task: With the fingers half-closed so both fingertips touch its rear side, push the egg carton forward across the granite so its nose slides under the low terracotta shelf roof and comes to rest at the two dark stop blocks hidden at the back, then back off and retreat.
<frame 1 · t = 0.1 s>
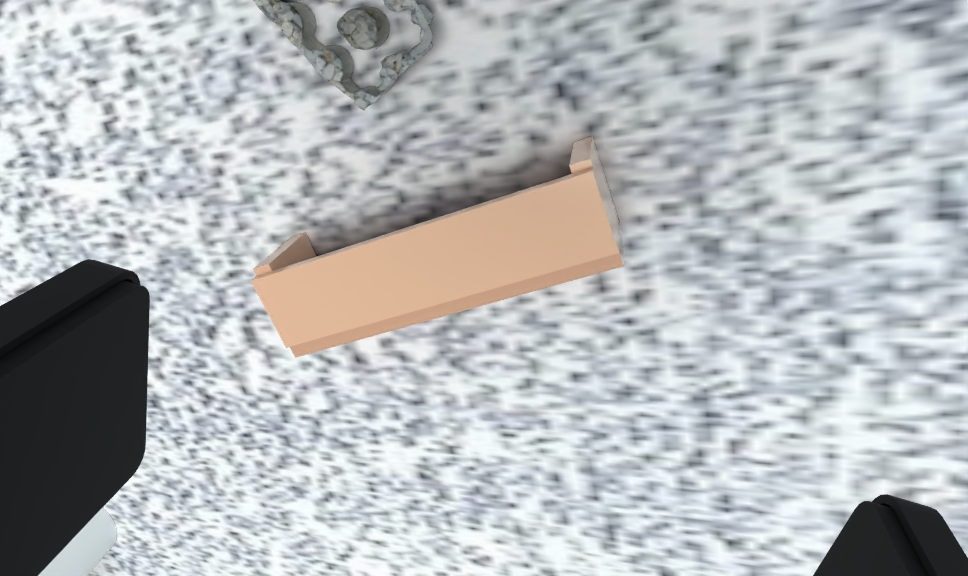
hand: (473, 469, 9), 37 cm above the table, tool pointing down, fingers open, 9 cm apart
egg carton: (356, 2, 43), on the table
cylindrical container: (83, 521, 66), on the table
shelf: (445, 223, 48), on the table
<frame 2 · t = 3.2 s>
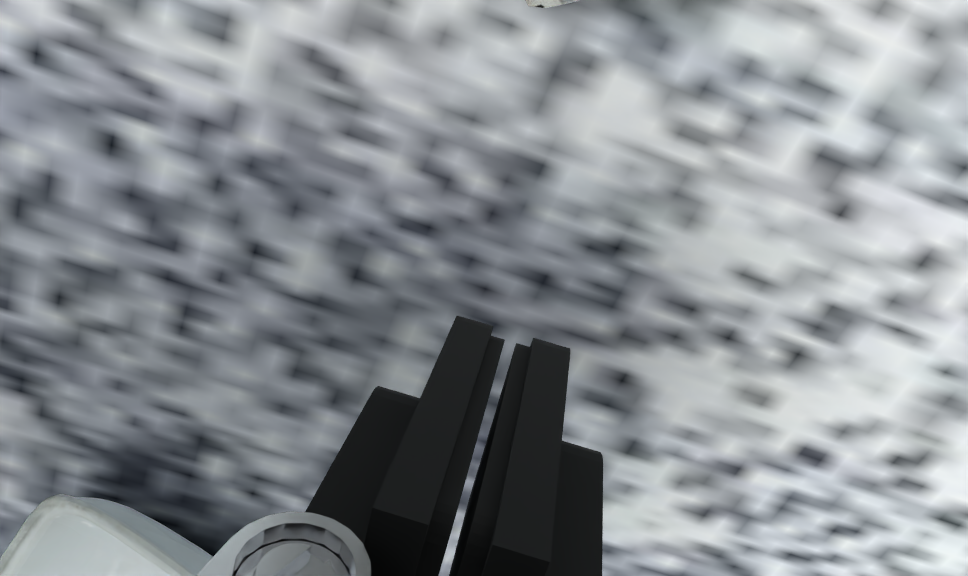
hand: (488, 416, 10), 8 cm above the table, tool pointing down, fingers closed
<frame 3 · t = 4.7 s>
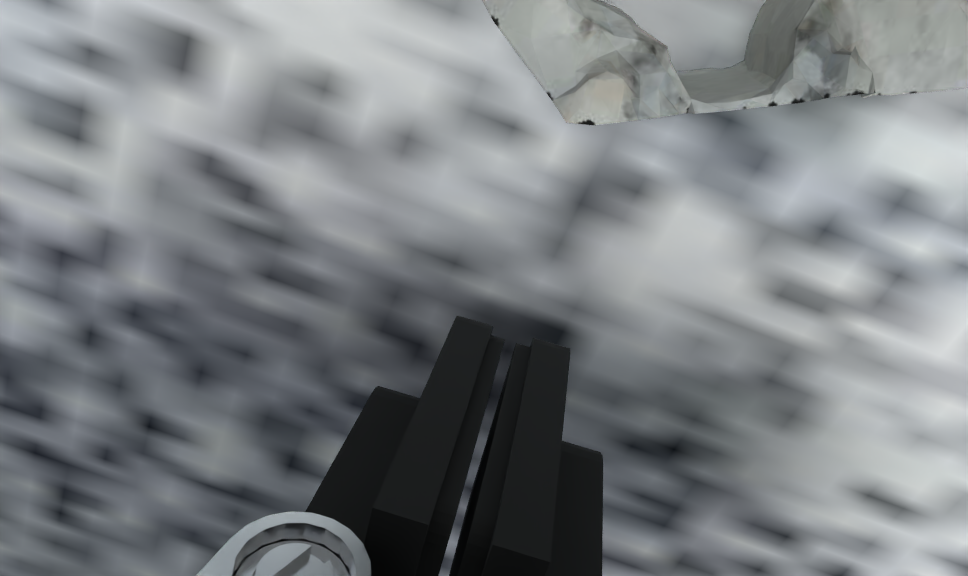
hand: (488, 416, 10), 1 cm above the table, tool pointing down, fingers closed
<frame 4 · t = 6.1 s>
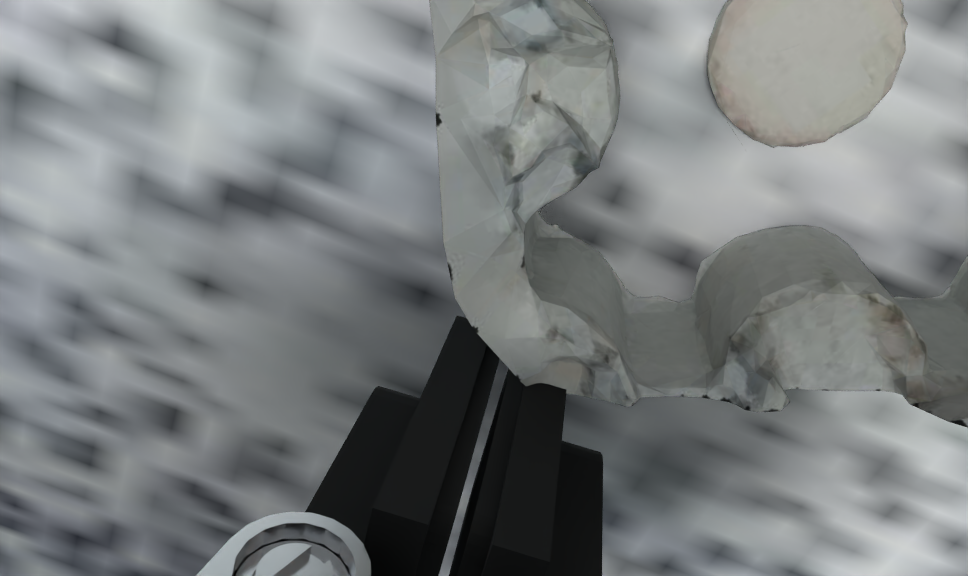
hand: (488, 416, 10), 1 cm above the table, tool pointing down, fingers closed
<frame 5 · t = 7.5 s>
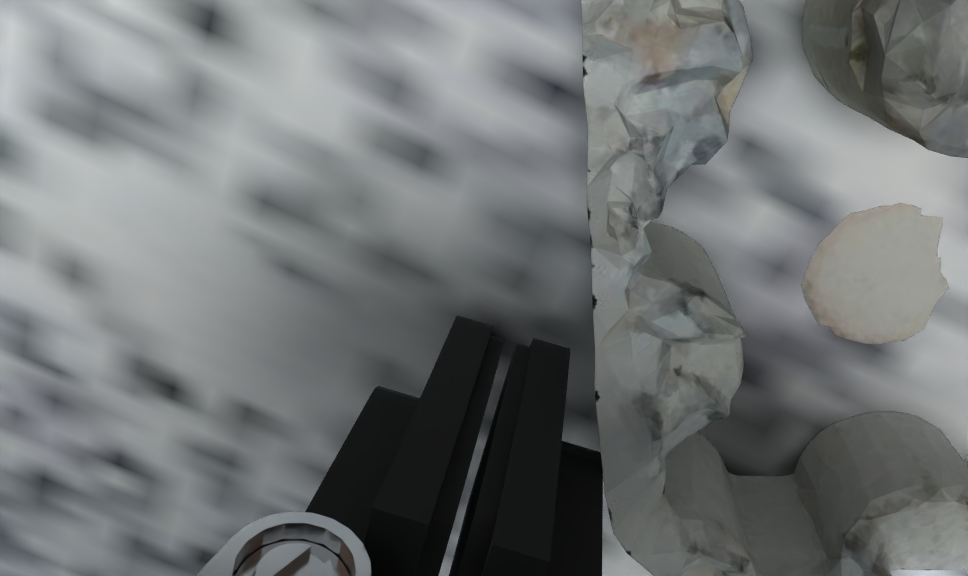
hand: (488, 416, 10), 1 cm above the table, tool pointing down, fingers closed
egg carton: (866, 146, 9), on the table
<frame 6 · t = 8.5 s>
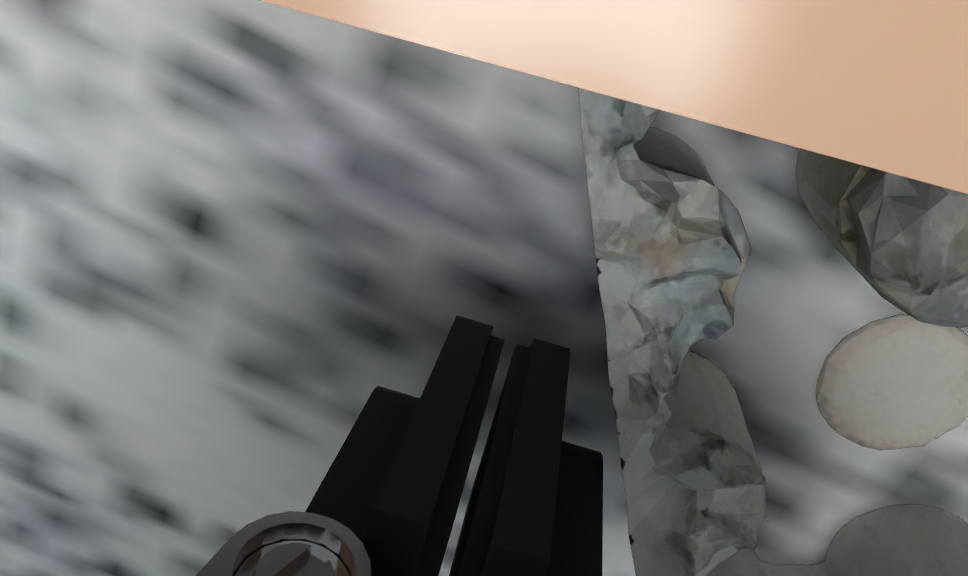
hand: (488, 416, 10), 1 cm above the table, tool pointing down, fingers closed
egg carton: (869, 269, 10), on the table
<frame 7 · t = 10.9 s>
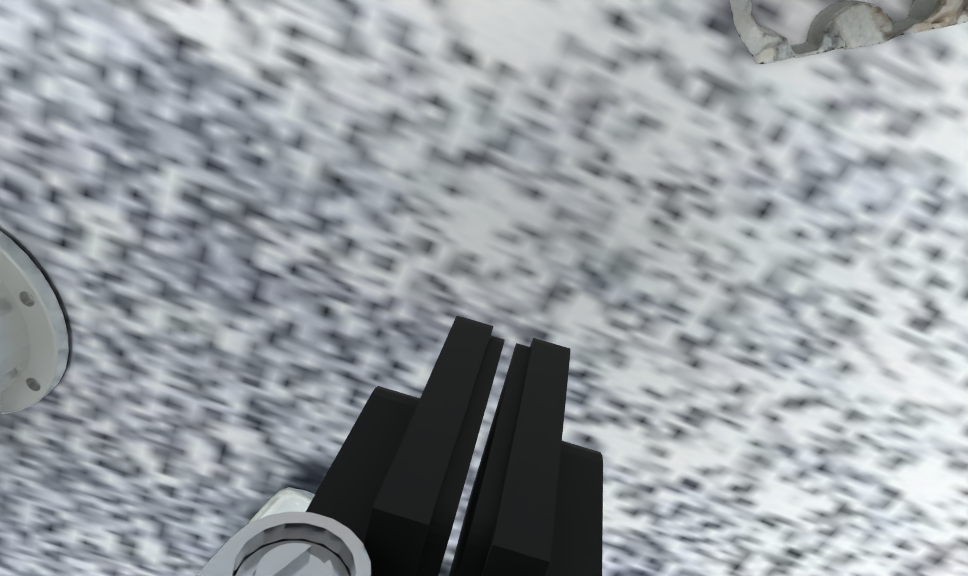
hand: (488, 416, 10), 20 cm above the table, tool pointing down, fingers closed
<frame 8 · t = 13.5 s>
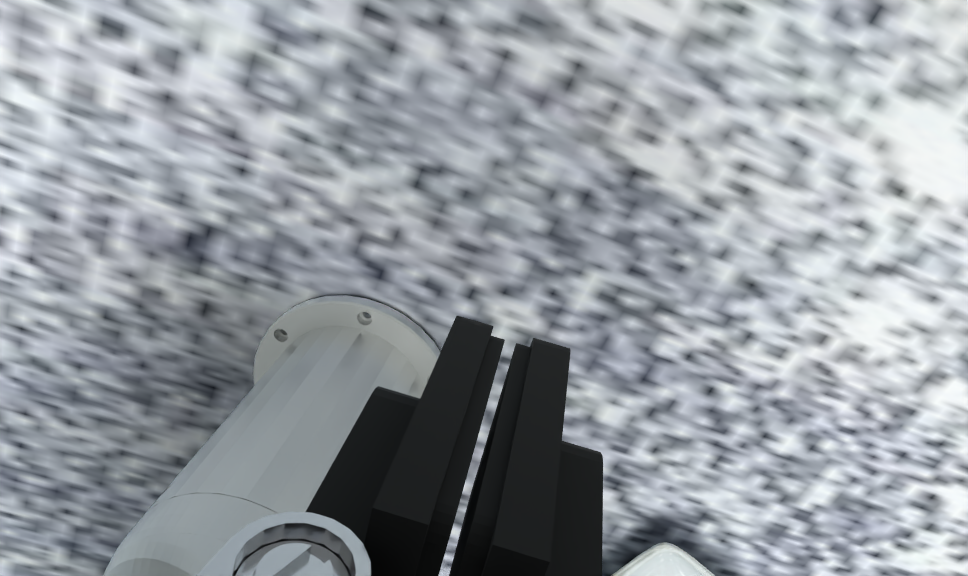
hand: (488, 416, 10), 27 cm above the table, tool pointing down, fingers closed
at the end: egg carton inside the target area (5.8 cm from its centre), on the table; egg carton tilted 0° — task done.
